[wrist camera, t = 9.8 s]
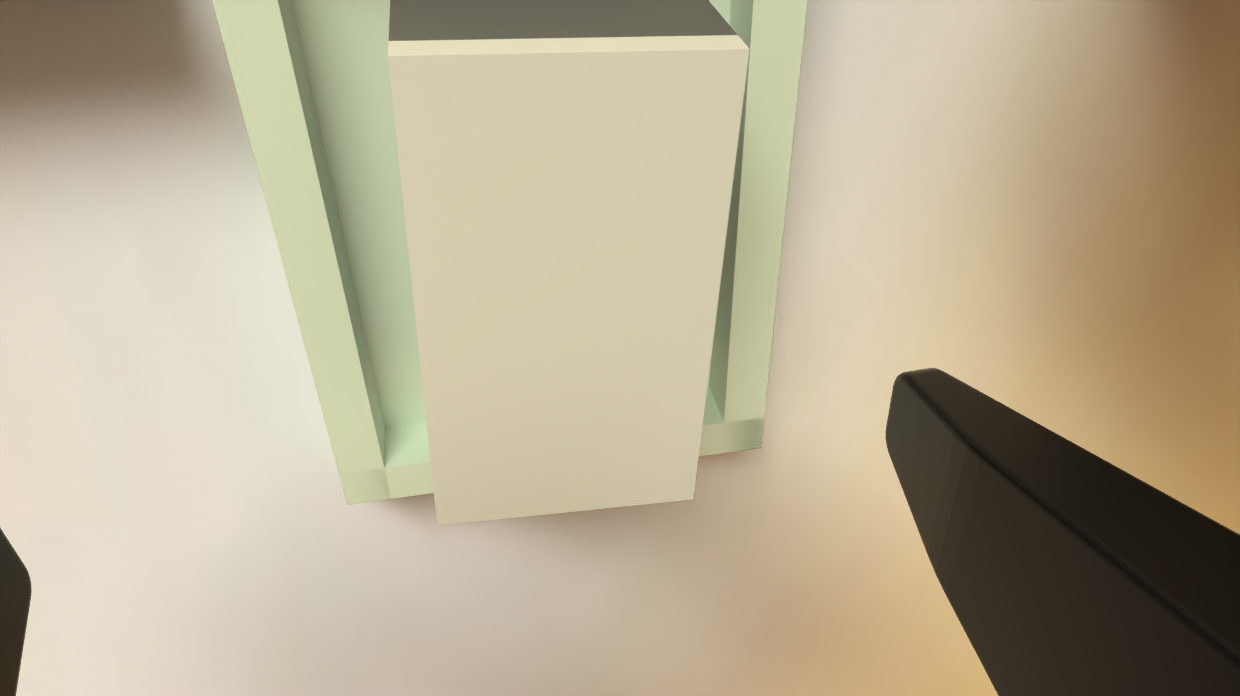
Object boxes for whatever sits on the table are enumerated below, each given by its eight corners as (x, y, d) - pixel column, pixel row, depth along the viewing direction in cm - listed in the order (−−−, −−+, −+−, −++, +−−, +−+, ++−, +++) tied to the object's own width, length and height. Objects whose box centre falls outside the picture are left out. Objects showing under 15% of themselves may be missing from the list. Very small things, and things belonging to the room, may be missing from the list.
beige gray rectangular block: (671, -44, 17) (749, 49, 13) (643, 350, 23) (693, 499, 19) (391, -44, 16) (387, 56, 13) (431, 365, 22) (436, 525, 18)
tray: (787, -218, 16) (828, -203, 15) (738, 396, 25) (761, 447, 23) (190, -194, 15) (164, -176, 14) (351, 447, 24) (347, 505, 22)
